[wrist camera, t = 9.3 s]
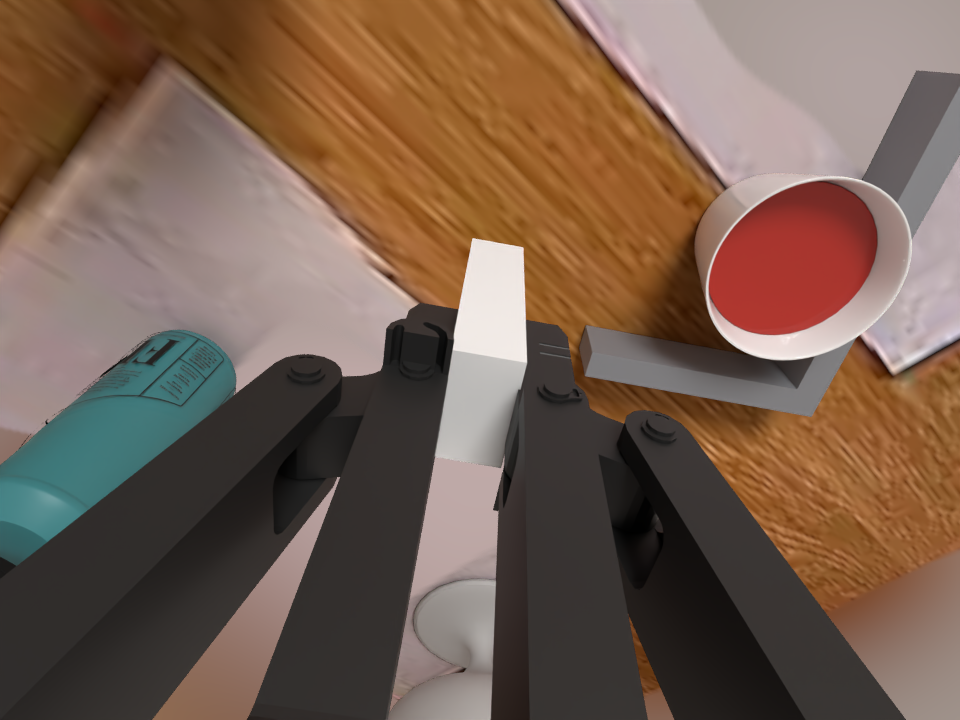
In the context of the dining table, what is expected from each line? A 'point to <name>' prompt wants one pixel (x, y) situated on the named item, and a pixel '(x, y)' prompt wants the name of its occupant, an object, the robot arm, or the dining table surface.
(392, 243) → the dining table surface
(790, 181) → the candle
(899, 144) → the corner fence
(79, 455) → the beverage bottle
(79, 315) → the dining table surface
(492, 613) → the chalice
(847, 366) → the dining table surface
